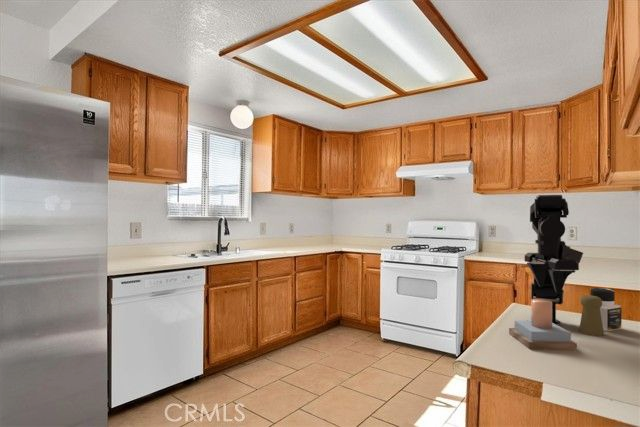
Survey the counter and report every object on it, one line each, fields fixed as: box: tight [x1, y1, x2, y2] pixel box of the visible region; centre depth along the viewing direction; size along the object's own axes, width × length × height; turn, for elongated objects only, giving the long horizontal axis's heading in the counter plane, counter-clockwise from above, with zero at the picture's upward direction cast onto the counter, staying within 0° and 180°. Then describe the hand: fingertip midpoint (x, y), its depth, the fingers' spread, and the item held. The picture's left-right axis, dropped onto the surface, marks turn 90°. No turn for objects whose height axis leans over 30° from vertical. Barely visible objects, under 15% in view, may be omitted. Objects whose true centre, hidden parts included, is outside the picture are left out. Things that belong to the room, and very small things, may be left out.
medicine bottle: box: [589, 287, 623, 332], centre depth 116 cm, size 7×7×12 cm
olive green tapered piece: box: [578, 294, 605, 337], centre depth 111 cm, size 6×6×11 cm
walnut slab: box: [508, 327, 578, 351], centre depth 103 cm, size 12×12×2 cm
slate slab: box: [513, 320, 572, 342], centre depth 103 cm, size 10×10×2 cm
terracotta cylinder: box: [530, 299, 552, 329], centre depth 103 cm, size 5×5×7 cm
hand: (549, 290), depth 110 cm, fingers open, 9 cm apart
